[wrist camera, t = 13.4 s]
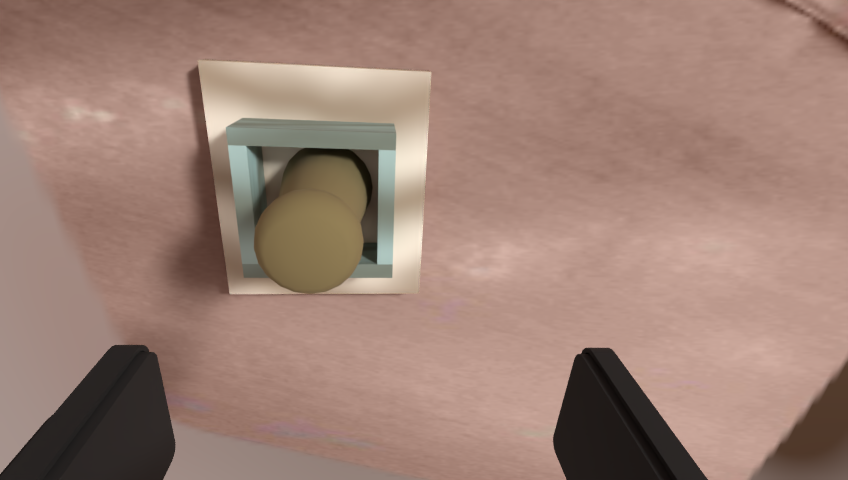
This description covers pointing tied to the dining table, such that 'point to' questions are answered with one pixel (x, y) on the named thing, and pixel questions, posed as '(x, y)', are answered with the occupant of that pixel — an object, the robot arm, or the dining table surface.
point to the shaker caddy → (319, 128)
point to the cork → (315, 221)
